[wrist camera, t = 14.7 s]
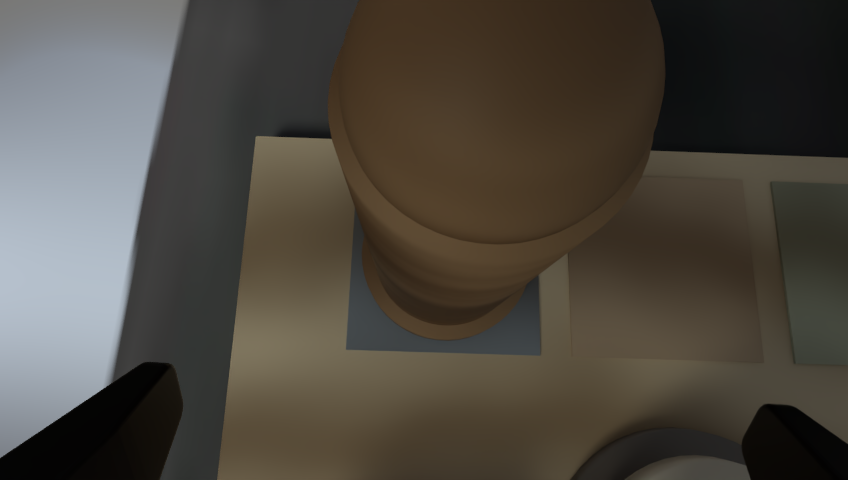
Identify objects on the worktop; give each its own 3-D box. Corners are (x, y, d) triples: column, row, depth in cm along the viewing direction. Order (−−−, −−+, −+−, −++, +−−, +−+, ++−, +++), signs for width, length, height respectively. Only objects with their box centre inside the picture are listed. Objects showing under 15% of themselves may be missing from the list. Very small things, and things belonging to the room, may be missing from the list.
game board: (1101, 856, 15) (1183, 913, 13) (188, 840, 14) (161, 898, 13) (951, 173, 19) (998, 155, 18) (264, 148, 19) (251, 128, 17)
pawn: (553, 300, 17) (923, 118, 5) (401, 367, 16) (374, 357, 4) (484, 159, 18) (638, -287, 6) (339, 216, 17) (172, -146, 5)
